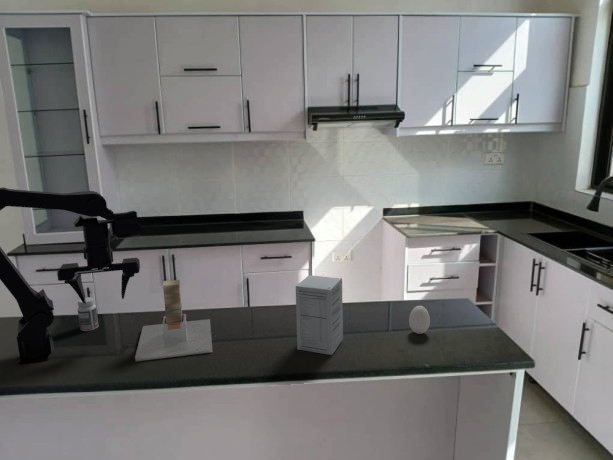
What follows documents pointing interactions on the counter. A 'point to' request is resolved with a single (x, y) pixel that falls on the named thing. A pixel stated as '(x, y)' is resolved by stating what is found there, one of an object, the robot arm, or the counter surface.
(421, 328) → the egg
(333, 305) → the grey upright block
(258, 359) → the counter surface
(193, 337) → the stand
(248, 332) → the counter surface
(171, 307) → the post
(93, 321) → the pill bottle
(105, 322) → the counter surface
